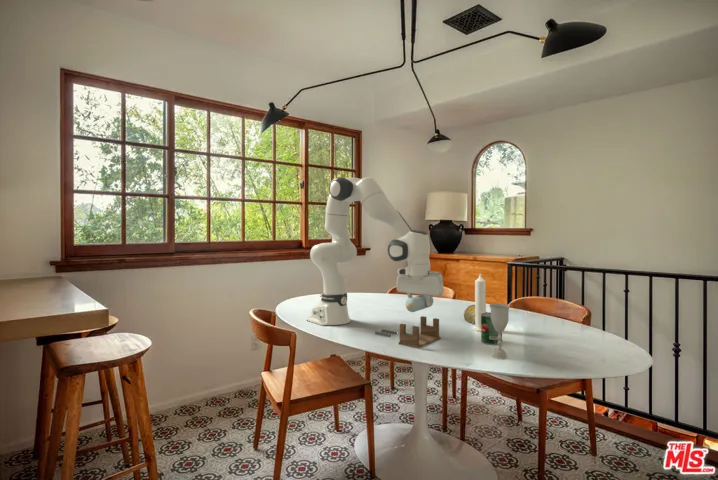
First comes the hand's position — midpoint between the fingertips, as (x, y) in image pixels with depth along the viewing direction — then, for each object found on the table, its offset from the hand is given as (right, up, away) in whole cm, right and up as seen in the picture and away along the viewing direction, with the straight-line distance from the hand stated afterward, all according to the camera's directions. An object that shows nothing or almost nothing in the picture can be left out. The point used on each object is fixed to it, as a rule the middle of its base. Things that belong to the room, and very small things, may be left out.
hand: (419, 304), depth 159 cm
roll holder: (0, -15, +1) cm, 15 cm away
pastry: (+32, -13, +31) cm, 47 cm away
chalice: (+25, -15, -19) cm, 35 cm away
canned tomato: (+28, -15, -2) cm, 32 cm away
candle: (+29, -14, +16) cm, 36 cm away
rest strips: (-13, -15, +12) cm, 23 cm away
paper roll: (0, +1, 0) cm, 1 cm away
